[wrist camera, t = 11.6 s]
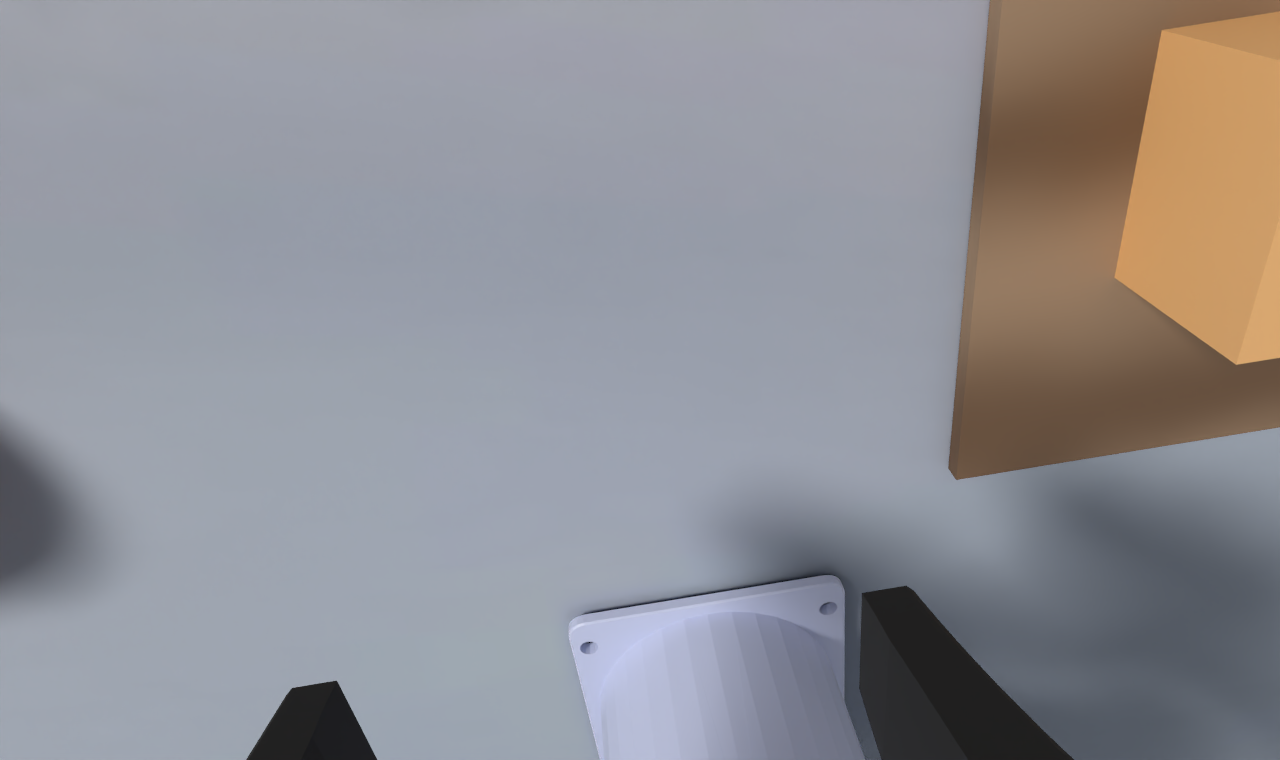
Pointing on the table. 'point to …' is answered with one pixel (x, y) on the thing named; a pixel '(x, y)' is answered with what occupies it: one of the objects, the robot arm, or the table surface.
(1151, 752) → the table surface
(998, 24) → the post board
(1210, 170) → the cardboard-colored cube
